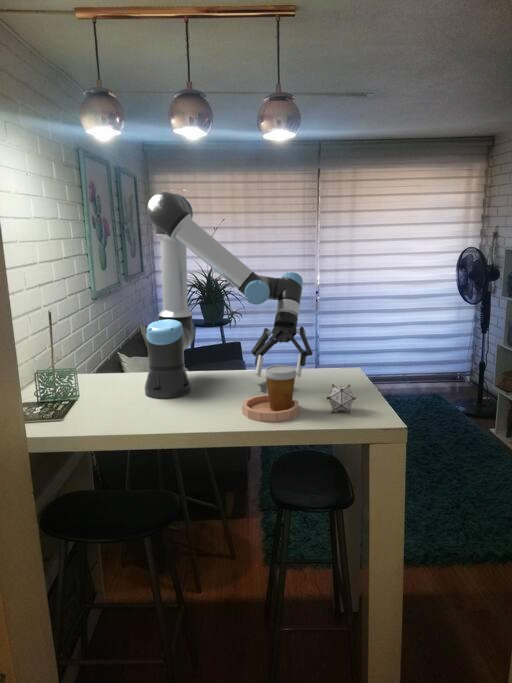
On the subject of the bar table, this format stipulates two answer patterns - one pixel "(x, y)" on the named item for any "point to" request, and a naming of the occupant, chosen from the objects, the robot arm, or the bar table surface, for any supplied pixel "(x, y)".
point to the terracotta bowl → (267, 409)
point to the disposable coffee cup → (280, 386)
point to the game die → (341, 398)
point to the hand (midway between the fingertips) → (277, 375)
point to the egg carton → (263, 387)
